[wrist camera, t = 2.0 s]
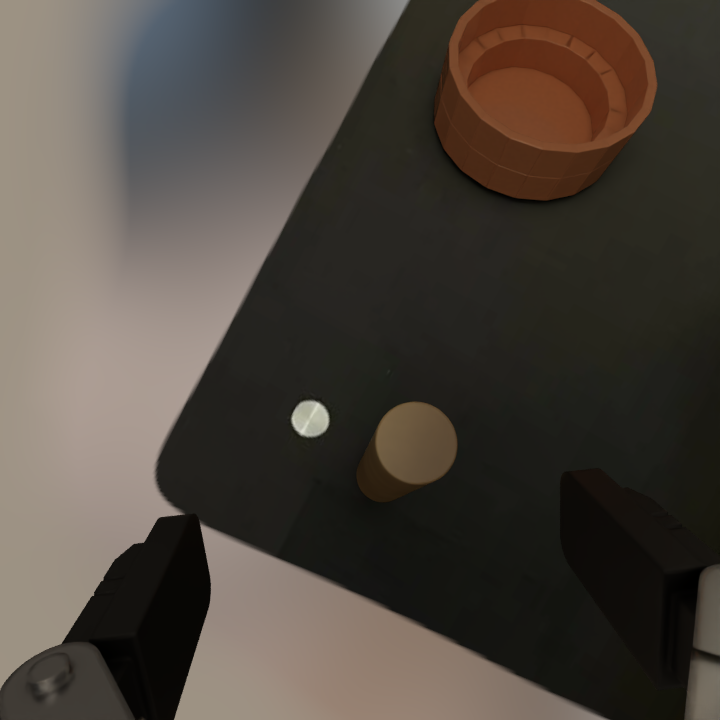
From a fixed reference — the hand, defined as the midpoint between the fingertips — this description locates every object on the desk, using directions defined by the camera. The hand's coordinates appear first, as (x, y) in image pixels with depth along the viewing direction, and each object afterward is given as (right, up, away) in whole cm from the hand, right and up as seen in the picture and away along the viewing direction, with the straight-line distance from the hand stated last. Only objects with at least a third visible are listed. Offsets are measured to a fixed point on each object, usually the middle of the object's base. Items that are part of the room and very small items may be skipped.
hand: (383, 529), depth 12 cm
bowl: (+11, +21, +27) cm, 36 cm away
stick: (+1, -3, +19) cm, 19 cm away
